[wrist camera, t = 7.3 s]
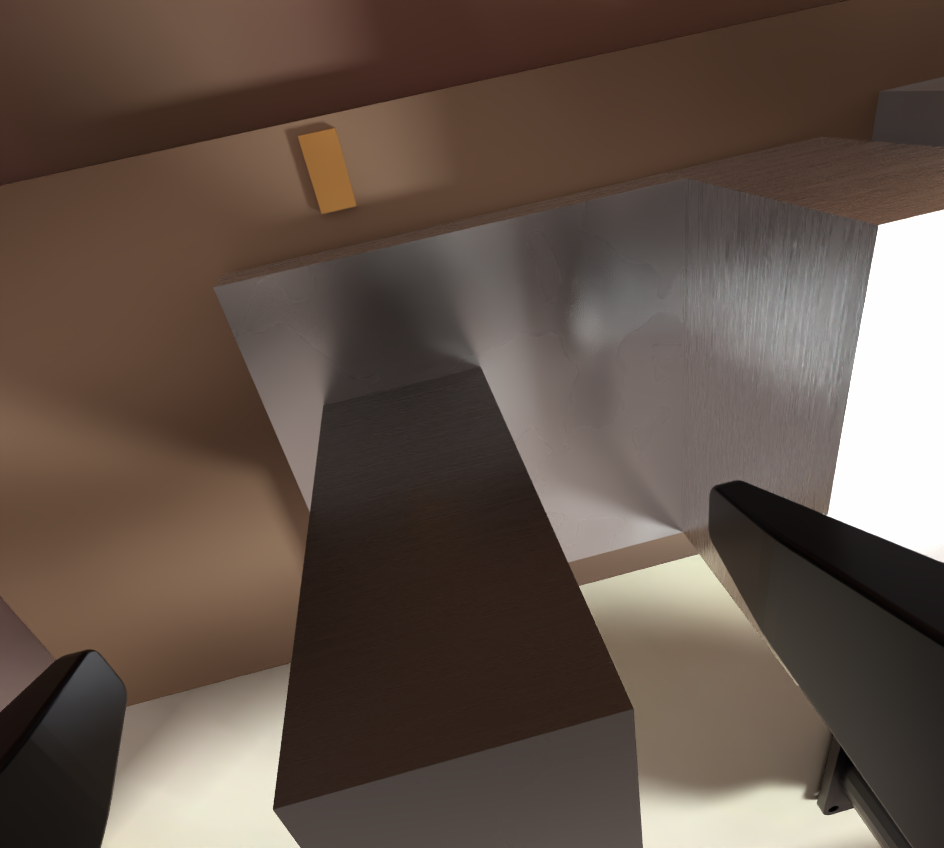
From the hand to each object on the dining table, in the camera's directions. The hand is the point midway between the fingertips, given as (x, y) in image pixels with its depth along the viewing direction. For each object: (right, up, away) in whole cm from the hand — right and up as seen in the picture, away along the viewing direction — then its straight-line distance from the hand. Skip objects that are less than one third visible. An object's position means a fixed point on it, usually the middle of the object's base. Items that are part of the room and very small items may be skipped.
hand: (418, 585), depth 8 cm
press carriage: (+3, +3, +4) cm, 6 cm away
